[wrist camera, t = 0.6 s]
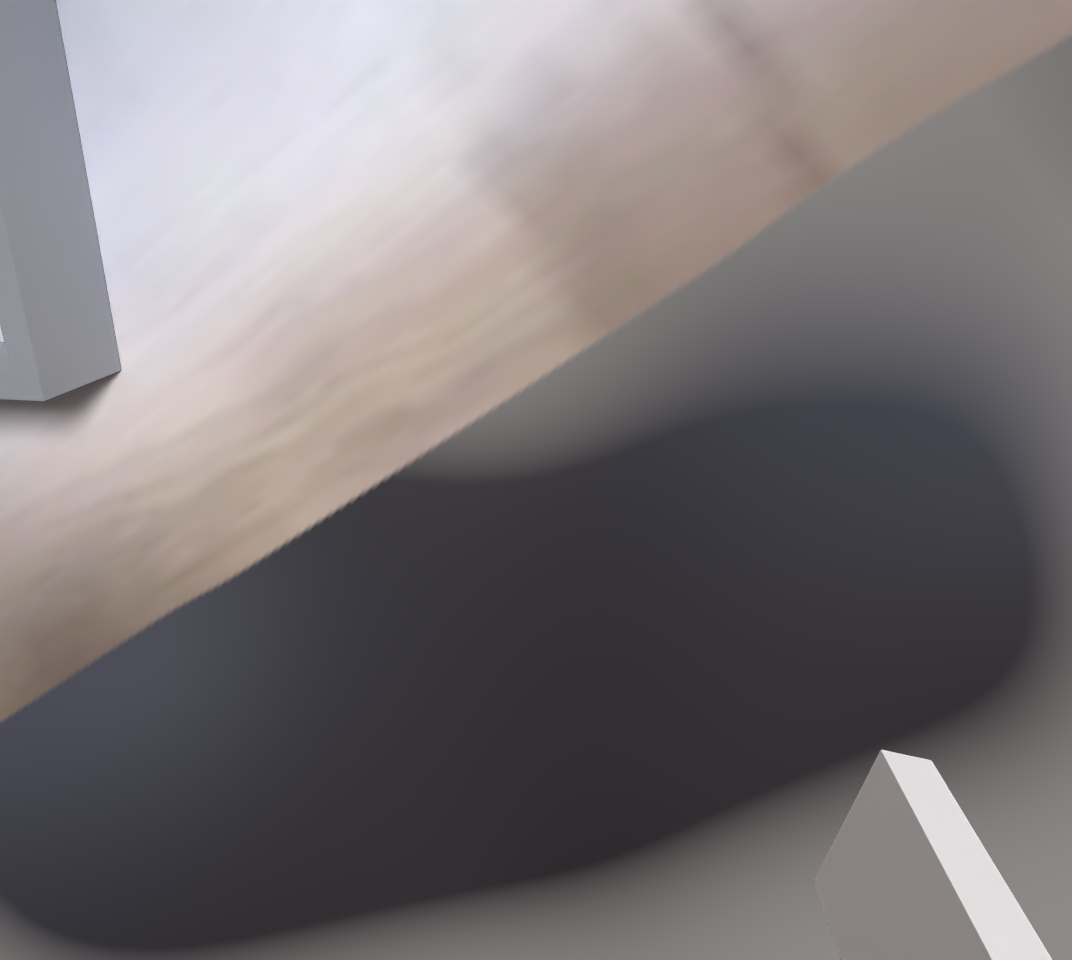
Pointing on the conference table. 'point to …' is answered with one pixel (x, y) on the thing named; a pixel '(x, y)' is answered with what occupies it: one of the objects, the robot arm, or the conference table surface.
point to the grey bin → (46, 220)
